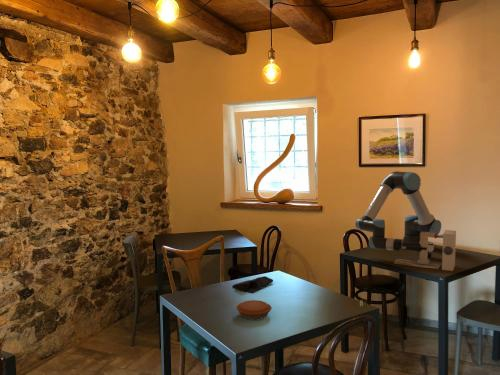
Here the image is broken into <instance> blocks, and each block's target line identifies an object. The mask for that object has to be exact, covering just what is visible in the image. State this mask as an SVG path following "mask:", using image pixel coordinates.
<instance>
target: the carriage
mask: <svg viewBox="0 0 500 375" xmlns="http://www.w3.org/2000/svg"><path fill="white" fill-rule="evenodd" d="M434 235H435V233H428V232H421V233H420V246H428V242H429V238H433V239H435V238H434ZM419 252H420V251H419ZM427 256H428V251H422V250H421V252H420V253H419V257H418V259H417V260H416V261H417V263H419V264H428V263H430V259H427Z"/></svg>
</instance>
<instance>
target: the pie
mask: <svg viewBox="0 0 500 375" xmlns="http://www.w3.org/2000/svg"><path fill="white" fill-rule="evenodd" d="M235 308H236V311H237V312H238V313H239V315H240V316H241V317H242V318H243V319H245V318H246V320H249V319H259V320H262V319H261V318H263V319H265V318H266V317H267V316H268V315H269V313H270V312H271V310H272V308H273V307H272V305H270V303H267V302H266V301H263V300H255V299H254V300H253V299H251V300H245V301H242V302H239V303H238V304H237V306H236V307H235ZM264 317H265V318H264Z"/></svg>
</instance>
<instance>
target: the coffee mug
mask: <svg viewBox="0 0 500 375" xmlns="http://www.w3.org/2000/svg"><path fill="white" fill-rule="evenodd" d="M419 243H420V242H419ZM428 245H434V242H433V241H428ZM417 252H418V254H420V250H419V251H417ZM432 253H433V252H432V251H428V256H427V259H429V260H430V259H432Z"/></svg>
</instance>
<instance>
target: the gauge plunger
mask: <svg viewBox="0 0 500 375" xmlns="http://www.w3.org/2000/svg"><path fill="white" fill-rule="evenodd" d="M437 238H438V239H443V234H440V233H439V234H437V233H435V235H434V238H433V239H437Z"/></svg>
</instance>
